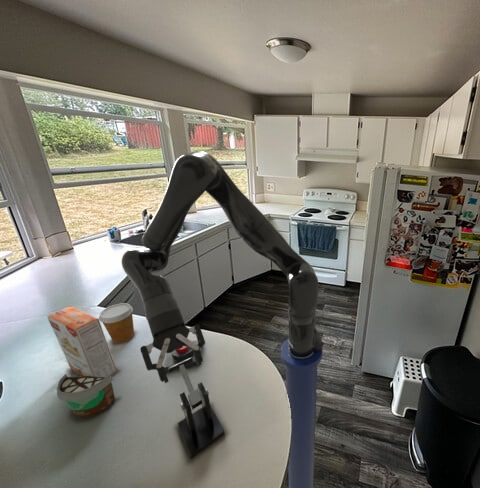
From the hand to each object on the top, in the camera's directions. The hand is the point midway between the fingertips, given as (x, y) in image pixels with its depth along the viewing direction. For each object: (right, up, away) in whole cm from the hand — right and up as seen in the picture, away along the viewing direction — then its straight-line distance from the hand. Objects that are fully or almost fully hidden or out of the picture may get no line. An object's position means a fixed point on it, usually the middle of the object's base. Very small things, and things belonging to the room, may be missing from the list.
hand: (184, 373), depth 64 cm
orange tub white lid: (-39, -2, +29) cm, 49 cm away
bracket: (+5, -14, 0) cm, 15 cm away
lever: (+2, -2, -1) cm, 3 cm away
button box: (-12, -6, +21) cm, 25 cm away
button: (-12, -2, +20) cm, 23 cm away
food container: (-27, -12, +3) cm, 30 cm away
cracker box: (-37, -7, +15) cm, 40 cm away
